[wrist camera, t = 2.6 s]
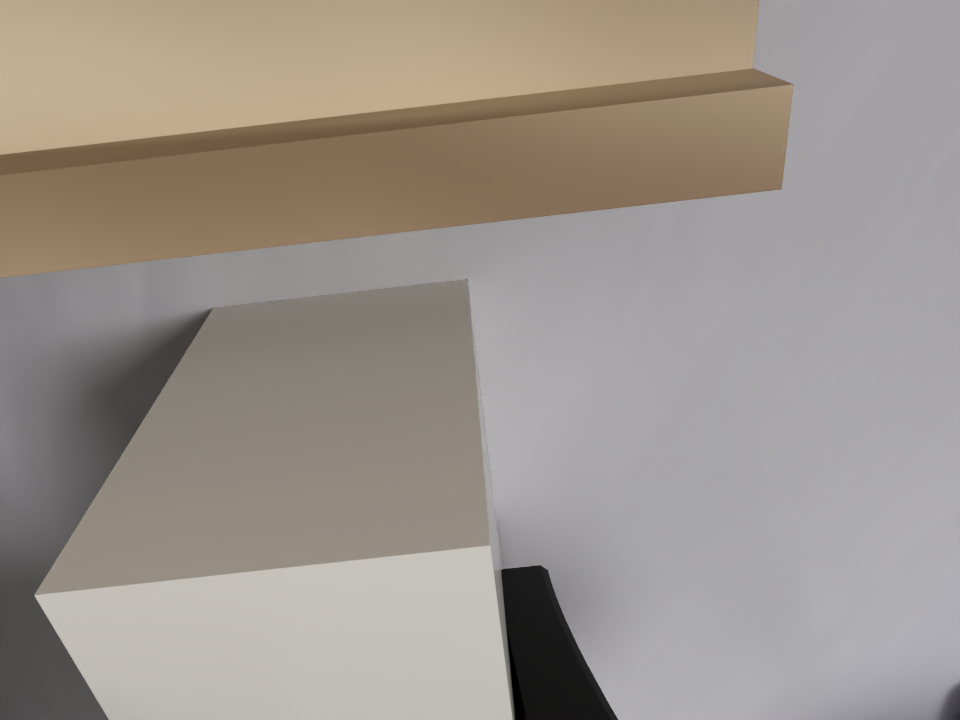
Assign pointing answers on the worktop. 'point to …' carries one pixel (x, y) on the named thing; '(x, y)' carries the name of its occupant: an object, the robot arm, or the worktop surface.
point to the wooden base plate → (363, 118)
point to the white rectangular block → (300, 525)
